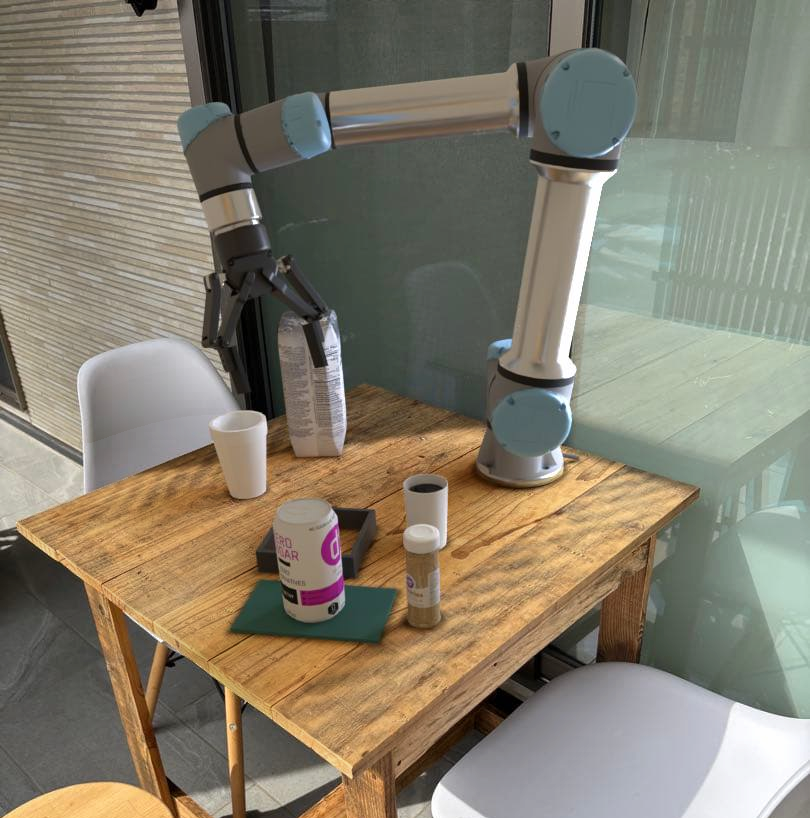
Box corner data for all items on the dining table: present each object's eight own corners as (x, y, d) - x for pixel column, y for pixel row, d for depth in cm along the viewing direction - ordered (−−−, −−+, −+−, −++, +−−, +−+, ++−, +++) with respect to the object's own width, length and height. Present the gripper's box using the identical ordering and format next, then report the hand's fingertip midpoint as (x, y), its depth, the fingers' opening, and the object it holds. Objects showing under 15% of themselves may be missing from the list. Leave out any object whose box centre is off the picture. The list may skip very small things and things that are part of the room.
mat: (397, 592, 118) (396, 588, 118) (378, 644, 108) (378, 640, 108) (260, 582, 122) (260, 579, 122) (230, 632, 112) (229, 628, 111)
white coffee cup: (418, 557, 126) (416, 498, 121) (398, 538, 131) (395, 480, 126) (457, 545, 128) (456, 486, 123) (436, 527, 134) (434, 469, 129)
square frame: (376, 528, 134) (375, 509, 132) (355, 578, 122) (353, 557, 120) (288, 523, 137) (286, 504, 135) (258, 572, 124) (255, 551, 123)
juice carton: (346, 458, 157) (333, 313, 144) (290, 460, 158) (272, 316, 144) (349, 439, 165) (337, 299, 152) (295, 441, 166) (279, 302, 152)
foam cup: (280, 478, 151) (271, 410, 145) (268, 503, 143) (258, 431, 137) (229, 478, 152) (217, 410, 146) (214, 502, 144) (201, 432, 138)
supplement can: (354, 595, 117) (346, 499, 109) (330, 630, 110) (319, 529, 103) (301, 587, 119) (289, 491, 112) (274, 620, 113) (260, 521, 105)
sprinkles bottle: (400, 621, 112) (395, 533, 105) (422, 606, 115) (418, 519, 108) (427, 634, 109) (423, 544, 103) (448, 617, 112) (446, 529, 106)
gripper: (297, 219, 127) (337, 359, 133) (144, 252, 113) (197, 406, 119) (324, 207, 121) (365, 354, 127) (166, 240, 107) (221, 403, 113)
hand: (284, 379), depth 123 cm, fingers open, 13 cm apart
